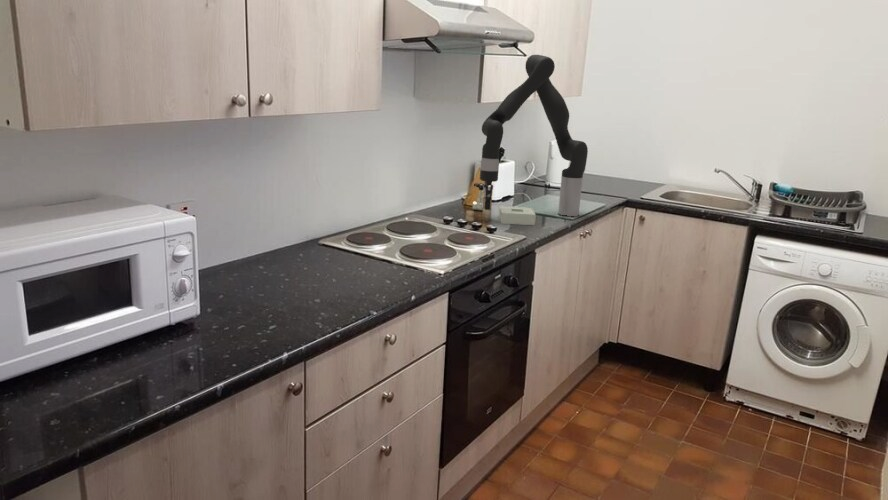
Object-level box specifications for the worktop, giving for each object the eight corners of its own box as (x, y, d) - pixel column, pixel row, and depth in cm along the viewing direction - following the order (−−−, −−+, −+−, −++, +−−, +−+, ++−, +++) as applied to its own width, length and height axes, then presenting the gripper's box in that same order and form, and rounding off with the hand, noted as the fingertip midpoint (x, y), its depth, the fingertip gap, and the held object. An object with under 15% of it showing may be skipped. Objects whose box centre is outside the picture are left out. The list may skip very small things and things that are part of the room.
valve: (487, 212, 290) (489, 185, 287) (472, 211, 290) (474, 185, 287) (486, 209, 297) (488, 183, 294) (472, 208, 297) (473, 182, 293)
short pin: (465, 219, 274) (465, 210, 273) (473, 219, 274) (474, 210, 273) (465, 221, 271) (466, 211, 269) (473, 221, 271) (474, 212, 269)
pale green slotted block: (499, 216, 283) (499, 206, 282) (531, 218, 283) (532, 207, 281) (501, 223, 269) (501, 212, 268) (534, 225, 269) (535, 214, 268)
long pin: (481, 219, 276) (483, 196, 273) (490, 219, 276) (491, 196, 273) (482, 221, 272) (483, 197, 270) (490, 221, 272) (492, 197, 270)
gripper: (499, 172, 261) (496, 211, 266) (497, 167, 275) (494, 204, 279) (481, 171, 261) (478, 210, 266) (479, 166, 275) (477, 203, 279)
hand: (486, 207), depth 272 cm, fingers open, 8 cm apart
